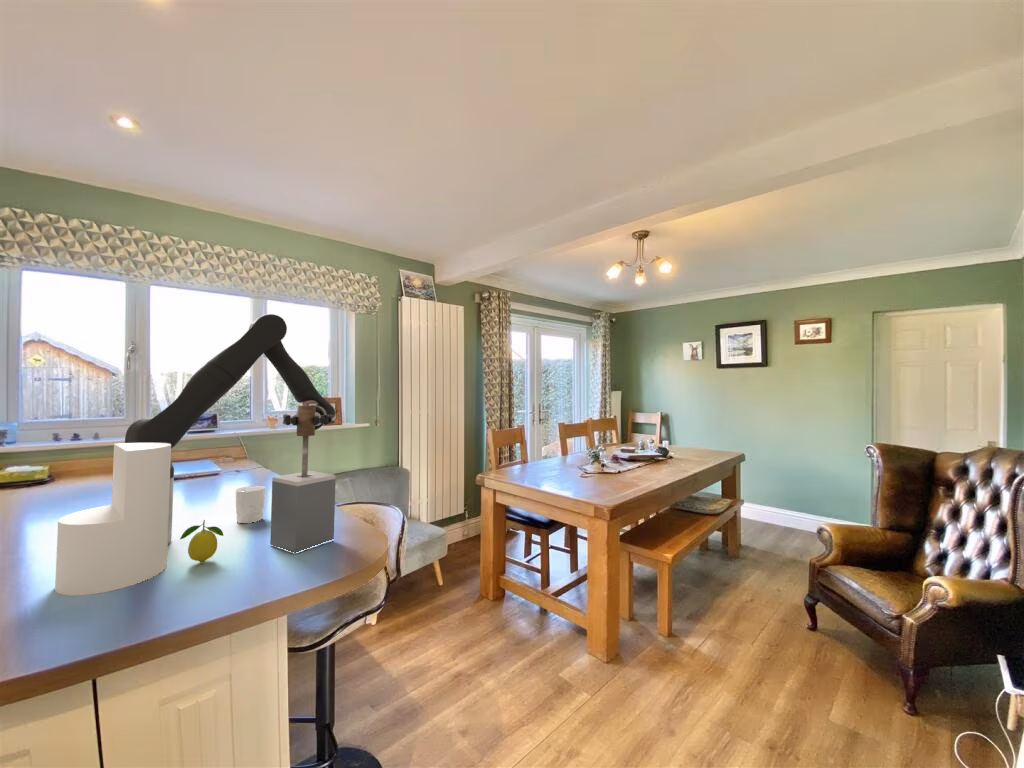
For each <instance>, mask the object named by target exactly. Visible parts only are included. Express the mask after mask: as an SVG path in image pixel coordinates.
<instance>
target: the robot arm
mask: <svg viewBox="0 0 1024 768" xmlns="http://www.w3.org/2000/svg"><path fill="white" fill-rule="evenodd" d="M287 332H288V327H287V323H286V320H284V318H283V317H281V316H279V315H277V314H273V313H269V314H268V313H267V314H263V315H260V316H259V317H257V318H256V319H254V320H253V321H252V322H251V324H250V325H249V327H248V330H247V331H246V332H245V333H244V334H243V335H242V336H241V337H240V338H239V339H238V340H236V341H235V342H233V343H232V344H231V345H230V346H228V347H226V348H225V349H222V351H220V352H219V353H218V354H216V355H215V356H213V358H211V359H210V360H208V361H207V362H206V363H205V364H204V365H202V366H201V368H199V369H198V370H197V371H196V372H195V373H194V374H193V375H192V376H191V377H190V378H189V380H188V381H187V382H186V384H185V386H184V388H183V389H182V391H181V393H180V394H179V395H178V396H177V398H175V400H174V401H172V402H171V403H170V404H169V405H168V406H166V407H165V408H164V409H163V410H162V411H160V412H159V413H157V414H156V415H155V416H153V417H144V418H140V419H137V420H135V421H134V422H133V423H131V425H130V426H128V428H127V430H126V432H125V436H124V443H169V444H171V449H173V448H175V446H176V445H177V444H178V443H180V441H181V440H182V439H183V437H184V436H185V434H186V433H187V432H188V431H189V430H190V428H191V427H193V425H194V424H195V423H196V422H197V421H198V419H199V418H201V416H203V415H204V414H205V413H206V412H207V411H208V410H209V409H210V408H212V407H213V406H214V405H215V404H216V403H218V401H219V400H220V399H221V398H223V396H225V395H226V394H227V393H228V392H229V391H230V390H231V389H232V388H234V386H235V385H236V384H237V383H238V382H239V381H240V380H241V379H242V378H243V377H244V376H245V375H246V374H247V372H248V371H249V370H250V369H251V368H252V366H253V365H254V364H255V363H256V362H257V360H259V358H260V357H261V356H262V355H264V356H265V357H266V358H267V360H268V361H269V362H270V363H271V364H272V366H273V367H274V368H275V370H276V371H277V372H278V375H280V377H281V378H282V380H283V382H284V383H285V385H286V386H287V388H288V389H289V392H290V393H291V394H292V396H293V398H294V399H295V400H296V402H297V403H300V404H302V403H305V402H310V401H313V402H316V404H310V405H309V406H316V409H315V417H314V425H315V431H317V430H318V429H320V428H322V427H323V426H324V425H325V426H326V425H331V424H335V423H336V421H335V420H336V409H335V408H334V406H333V405H332V404H331V403H330V402H329V401H328V400H327V399H325V398H324V397H323V396H322V394H320V393H319V391H318V390H317V388H316V387H315V386H314V384H313V382H312V380H311V379H310V377H309V375H308V374H307V373H306V371H305V370H304V369H303V368H302V367H301V365H299V364H298V363H297V362H296V361H295V360H294V359H293V358H292V357H291V356H290V355H289V353H288V352H287V350H286V348H285V347H284V344H283V341H282V340H284V338H285V336H286V334H287ZM282 424H283V425H286V426H290V425H291V424H292V426H296V427H297V413H296V414H294V415H291V414H286V413H285V414H283V415H282ZM172 463H173V462H171V463H170V490H169V516H168V543H167V545H169V544H170V543H172V538H173V537H172V536H173V506H174V487H175V486H174V484H175V483H174V479H175V478H174V477H175V468H174V465H173V464H172Z"/></svg>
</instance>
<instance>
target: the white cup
mask: <svg viewBox="0 0 1024 768" xmlns="http://www.w3.org/2000/svg"><path fill="white" fill-rule="evenodd" d="M265 496H266V486H263V485H250V486H242V487H239V488H236V489H235V509H236V510H235V511H236V523H237V522H238V523H237V524H240V523H248V524H253V523H252V522H254V523H258V522H260V521H262V520H263V517H264V516H263V515H264V512H263V511H264V508H265V498H266V497H265ZM261 519H262V520H261ZM259 520H260V521H259ZM257 521H258V522H257Z"/></svg>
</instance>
